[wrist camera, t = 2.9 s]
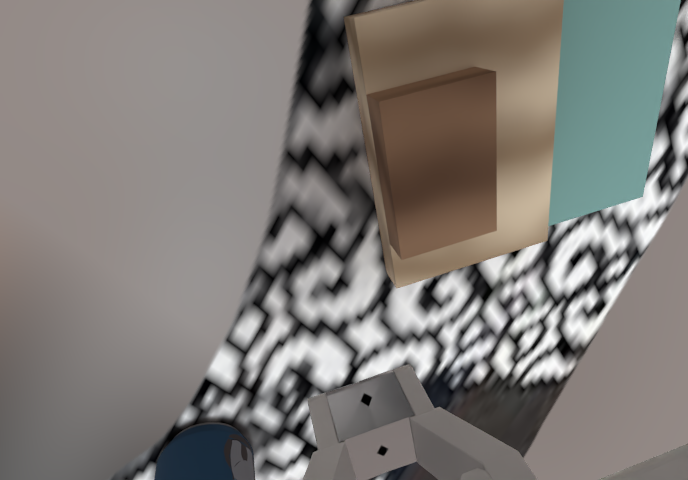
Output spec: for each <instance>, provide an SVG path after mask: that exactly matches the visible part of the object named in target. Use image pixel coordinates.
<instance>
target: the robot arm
mask: <svg viewBox="0 0 688 480" xmlns="http://www.w3.org/2000/svg"><path fill="white" fill-rule="evenodd" d="M308 405H309V410H310V415H311V419H312V424H313V428H314V433H315V437H316V442H317V446H318V451H316V452H313V454H312V457H311V460H310V462H309V465H308V468H307V470H306V473H305V475H304V478H303V480H368V479H370V478H373V477H375V476H378V475H380V474H382V473H385V472H387V471H390V470H393V469H396V468H399V467H402V466H405V465H408V464H411V463H414V462H417V461H418V463H419V464H420V465H421V466H422V467H424V468H425V469H426V470H427V471H429V472H430V473H431V474H432V475H434V476H435V477H436V478H437V479H439V480H537V478H536V477H535V475H534V474H533V472H532V471H531V469H530V468H529V467H528V465H527V463H526V462H525V461H524V459H523V458H522V456H521V455H520V453H519V452H518V451H517V450H515V449H513V448H511V447H510V446H508V445H506V444H504V443H503V442H501V441H499V440H497V439H495V438H494V437H492V436H490V435H488V434H487V433H485V432H483V431H481V430H479V429H478V428H476V427H474V426H472V425H471V424H469V423H467V422H465V421H463V420H462V419H460V418H458V417H456V416H454V415H453V414H451V413H449V412H447V411H446V410H444V409H442V408H440V407H438V408H435V409H434V407H433V405H432V403H431V401H430V400H429V398H428V396H427V394H426V392H425V390H424V389H423V387H422V385H421V383H420V381H419V379H418V377H417V376H416V374H415V372H414V370H413V368H412V366H410V365H409V364H407V365H405V366H402V367H399V368H396V369H393V370H390V371H387V372H384V373H381V374H378V375H376V376H373V377H370V378H367V379H364V380H362V381H359V382H357V383H354V384H351V385H348V386H345V387H341V388H338V389H335V390H332V391H329V392H326V393H323V394H320V395H317V396H314V397H311V398H308ZM599 480H688V444H686V445H683V446H681V447H679V448H676V449H673V450H671V451H669V452H666V453H664V454H661V455H659V456H656V457H654V458H651V459H649V460H646V461H644V462H641V463H639V464H636V465H634V466H632V467H629V468H626V469H624V470H621V471H619V472H616V473H614V474H611V475H609V476H607V477H604V478H601V479H599Z"/></svg>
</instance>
